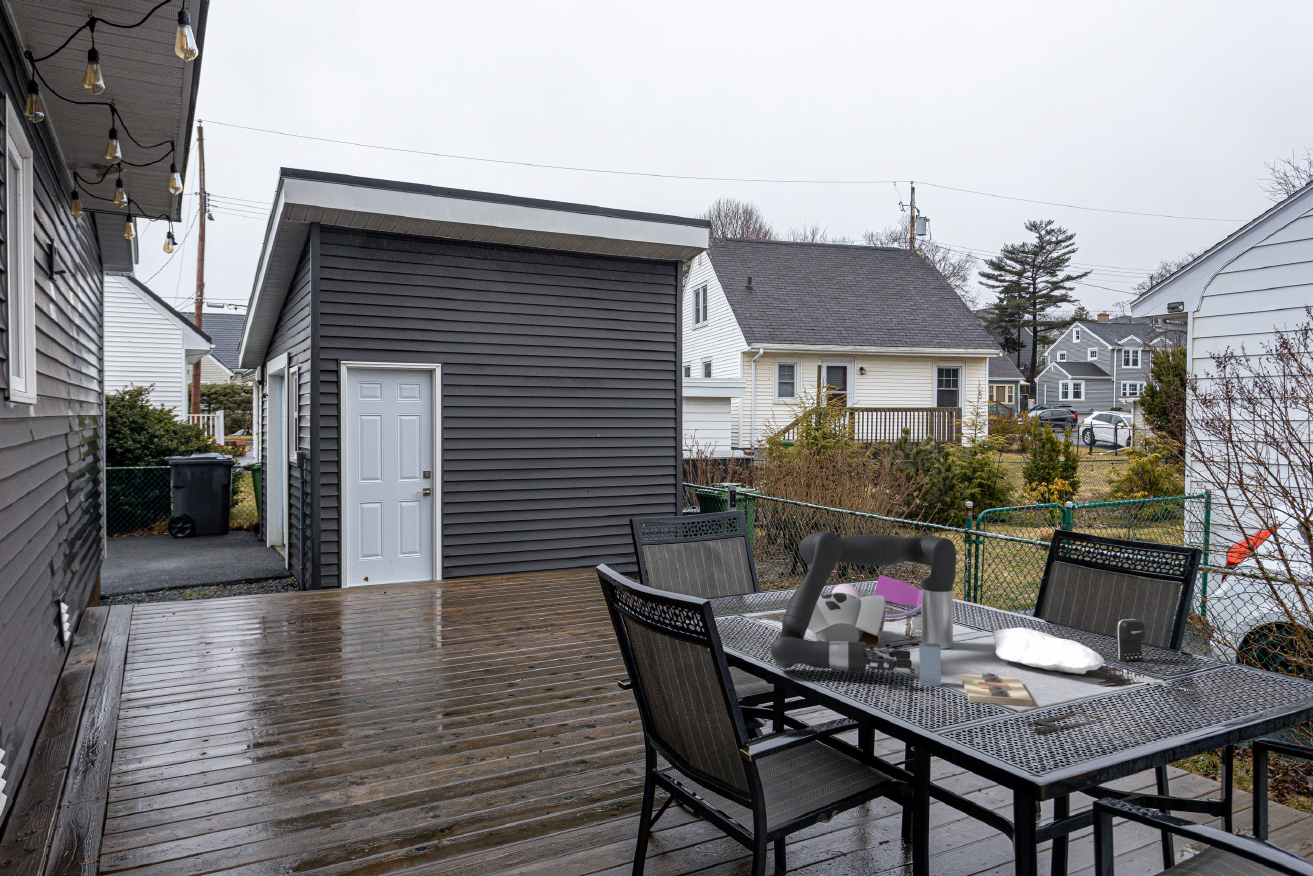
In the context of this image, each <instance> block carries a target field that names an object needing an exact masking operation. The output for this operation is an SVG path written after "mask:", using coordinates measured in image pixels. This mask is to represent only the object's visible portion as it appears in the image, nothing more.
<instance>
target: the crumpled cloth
mask: <svg viewBox="0 0 1313 876" xmlns="http://www.w3.org/2000/svg"><path fill="white" fill-rule="evenodd" d="M992 637H993V640H994V645H995V654H996V655H997V657H998V658H999V659H1000V660H1003V661H1009V662H1013V663H1020V664H1022V665H1026V666H1030V667H1034V668H1040V669H1044V670H1047V671H1057V672H1065V673H1068V674H1069V673H1073V674H1080V675H1081V674H1082V675H1083V674H1086V673H1087V672H1088V671H1095V670H1099V668H1101V667H1102V666H1103V665H1104V664H1105V659H1104V658H1103V656H1102V655H1100V653H1098V652H1097V651H1095V650H1093V649H1092V648H1090V647H1088V646H1085V645H1083V644H1082V643H1080V642H1078V641H1076V640H1072V639H1066V638H1059V637H1056V636H1054V635H1052V634H1048V633H1046V632H1041V631H1038V630H1034V629H1031V628H1028V627H1027V628H1026V627H1013V628H1002V629H997V630H994V631H993V632H992Z"/></svg>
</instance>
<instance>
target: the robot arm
mask: <svg viewBox="0 0 1313 876" xmlns="http://www.w3.org/2000/svg"><path fill="white" fill-rule="evenodd" d="M956 549H957V548H956V546H955V544H954V542H953V541H952V540H951V539H949V538H947V537H942V536H936V535H935V536H934V535H923V536H922V535H921V536H913V537H911V536H910V537H900V536H896V535H889V534H877V533H876V534H860V535H859V534H858V535H853V536H852V535H851V536H844V537H839V536H838V535H837V534H836V533H833V531H821V532H814V533H810V534H807V535H806V536H805V537H804V538H803V539H802V540H801V541H800V543H799V546H798V552H799V554H800V557H801V558H802V560H804V561H805V563H807V564H809V565H811V566H810V568H809V570H808V571H807V574H806V576H805V577H804V579H803V581H802V582H800V585H799V586H798V587H797V589H796V590H795V591H794V593H793V595H792V597H791V598H790V600H789V602H788V604H787V607H786V610H785V613H784V616H783V618H782V624H781V627H782V628H781V631H780V635H779V637H777V638H776V639H775V640H774V641H772V644H771V647H770V653H771V656H772V658H773V660H774V662H775V663H776V664H777V665H778V666H779V667H781V668H783V669H789V668H792V667H794V666H795V665H796V664H799V665H801V664H802V665H808V666H809V667H812V668H815V669H816V668H818V669H831V670H836V671H837V670H838V671H847V672H848V671H849V672H866V668H867V667H866V666H867V665H868V666H869V669H870V670H878V671H888V672H889V671H891V672H893V671H895V670H896V669H909V670H910V669H912V668H913V664H912V663H913V662H912V659H911V652H910V650H907V649H906V650H904V649H903V650H901V649H895V648H893V647H892V646H881V645H880V646H878V645H877V646H870V647H869V649H866V647H865V643H864V642H847V641H833V642H829V641H821V640H808V639H805V635H806V633H807V630H808V628H809V626H808V625H809V623H810V620H811V617H812V614H813V611H814V608H815V606H816V603H817V601H818V599H819V596H821V595H822V591H823V590H824V588H825V586H826V584H827V582H828V580H829V579H830V576H831V574H832V573H833V571H834V569H835V567H836V566H837V564H839V563H842V564H852V565H862V566H871V567H872V566H873V567H874V566H875V567H876V566H878V567H880V566H881V567H886V566H887V567H888V566H894V565H897V564H899V563H902V562H903V563H905V562H906V563H907V562H908V563H915V564H920V565H921V564H922V565H924V566H930V573H929V574H930V575H928V576H926V577H923V578H922V579H921V580H920V591H921V609H920V612H921V614H920V616H921V617H920V620H921V621H920V625H921V627H920V631H921V632H920V633H921V634H920V635H921V636H920V641H921V642H920V643H932V644H940V647H941V649H950V648H951V649H952V648H953V647H954V606H953V605H954V599H953V598H954V597H953V596H954V595H953V593H954V592H953V590H954V587H953V586H954V584H955V580H956V576H957V575H956V570H957V568H956V567H957V550H956Z"/></svg>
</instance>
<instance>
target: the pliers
mask: <svg viewBox="0 0 1313 876" xmlns="http://www.w3.org/2000/svg"><path fill="white" fill-rule="evenodd" d="M1136 680H1138V681H1140V682H1144V683H1149V684H1153V685H1160V686H1161V685H1163V686H1167V687H1168V685H1169V684H1168V683H1166V682H1165V681H1163V680H1158V679H1155V678H1152V677H1150V676H1147V675H1144V676H1143V677H1140V676H1135V681H1136ZM1149 684H1148V685H1149ZM1177 689H1178V688H1177ZM1179 689H1184V691H1186V689H1187V688H1183V687H1179ZM1188 690H1189V689H1187V691H1188ZM1190 690H1191V691H1193V690H1192V689H1190Z"/></svg>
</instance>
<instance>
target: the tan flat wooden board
mask: <svg viewBox="0 0 1313 876" xmlns="http://www.w3.org/2000/svg"><path fill="white" fill-rule="evenodd" d="M960 681H961V685H962V687H963V690H964V692H965V695H966V697H967V700H968V702H969V703H979V704H980V703H982V704H983V703H984V704H996V705H1009V706H1010V705H1011V706H1021V707H1023V706H1025V707H1033V699H1032V698H1031V696H1030V695H1029V693H1028V691H1027V690H1026V688H1025V686H1024V685H1023V683H1022V682H1021V680H1020V678H1019V677H1015V676H1014V677H1013V676H999V675H998V674H995V673H991V672H989V673H988V672H987V673H982V675H981V674H979V675H978V674H966V673H965V674H963V673H961V674H960Z"/></svg>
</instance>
